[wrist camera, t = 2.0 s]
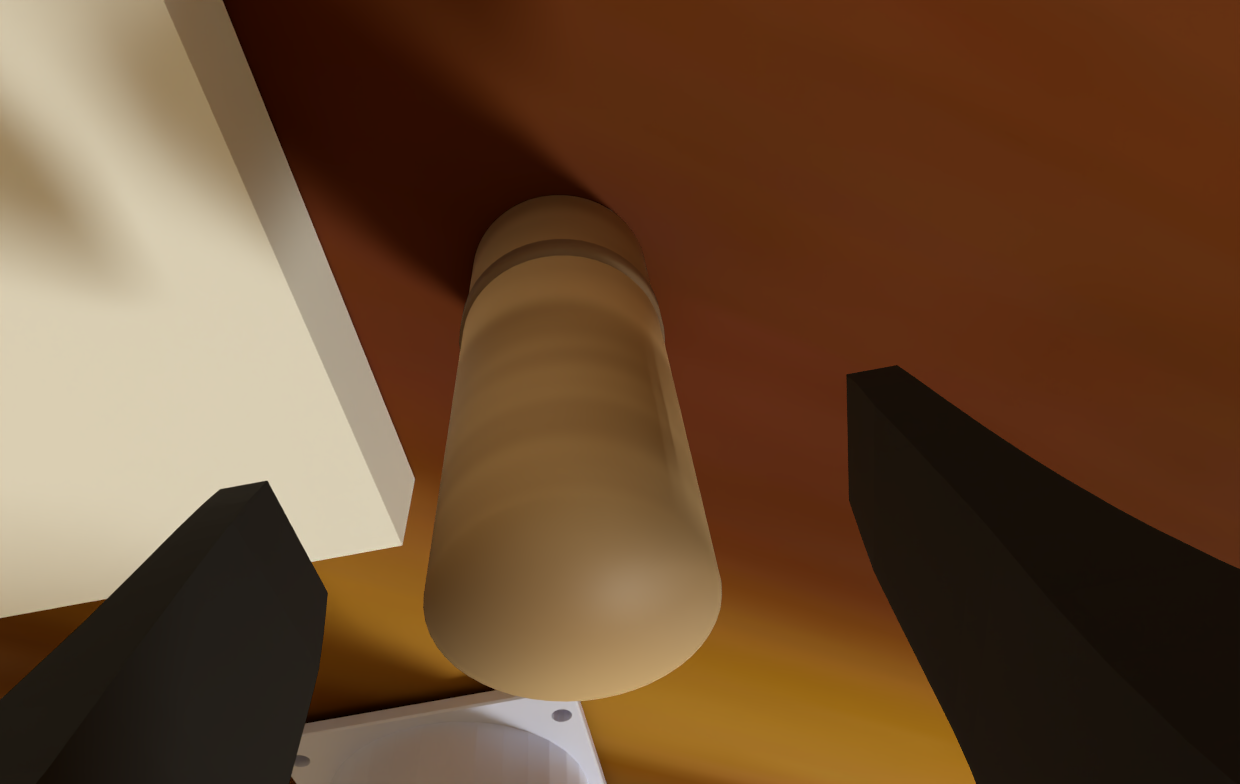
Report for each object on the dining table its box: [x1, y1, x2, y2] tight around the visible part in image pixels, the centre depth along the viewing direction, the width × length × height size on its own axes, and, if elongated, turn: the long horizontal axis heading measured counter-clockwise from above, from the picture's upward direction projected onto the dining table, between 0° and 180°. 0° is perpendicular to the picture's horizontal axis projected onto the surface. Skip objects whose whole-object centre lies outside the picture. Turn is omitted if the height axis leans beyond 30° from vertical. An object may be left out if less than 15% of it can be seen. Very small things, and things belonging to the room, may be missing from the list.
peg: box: [423, 195, 722, 702], centre depth 12 cm, size 3×3×8 cm
